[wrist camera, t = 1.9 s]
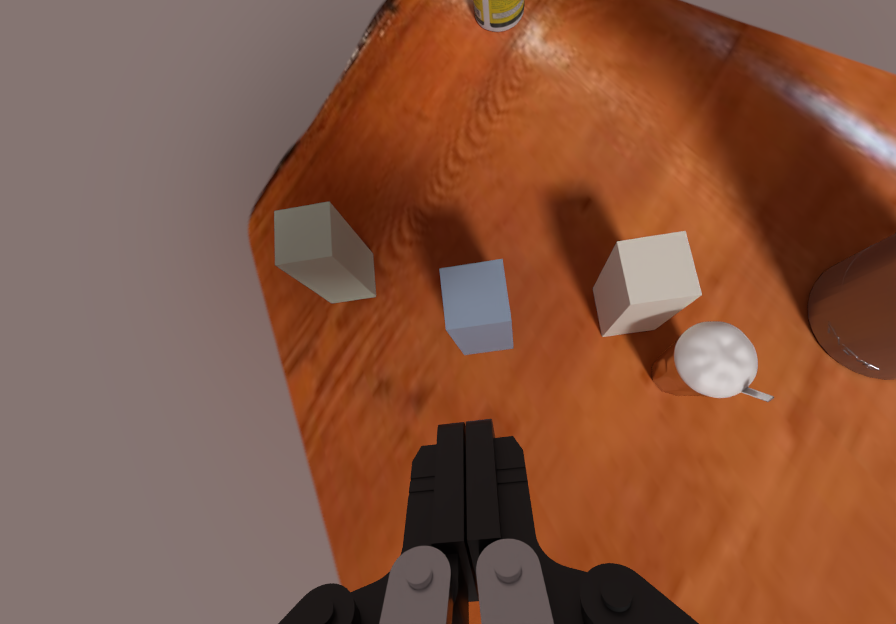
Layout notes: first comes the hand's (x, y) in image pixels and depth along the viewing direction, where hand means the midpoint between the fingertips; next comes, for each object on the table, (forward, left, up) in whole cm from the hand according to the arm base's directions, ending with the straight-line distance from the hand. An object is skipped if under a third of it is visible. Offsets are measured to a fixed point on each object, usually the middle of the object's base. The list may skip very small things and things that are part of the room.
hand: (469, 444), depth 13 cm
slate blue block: (-4, -7, -24) cm, 26 cm away
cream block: (-14, -2, -24) cm, 28 cm away
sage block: (+2, -18, -24) cm, 30 cm away
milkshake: (-13, +5, -25) cm, 28 cm away
